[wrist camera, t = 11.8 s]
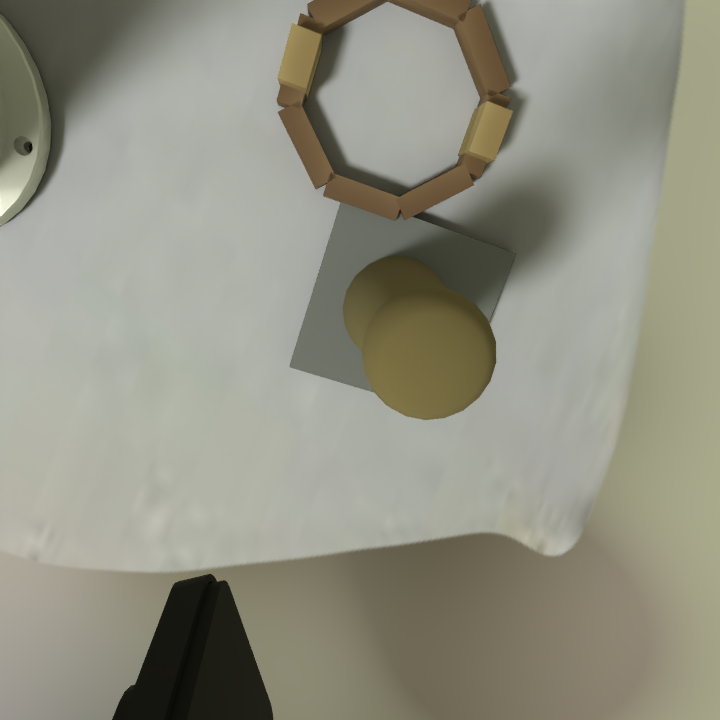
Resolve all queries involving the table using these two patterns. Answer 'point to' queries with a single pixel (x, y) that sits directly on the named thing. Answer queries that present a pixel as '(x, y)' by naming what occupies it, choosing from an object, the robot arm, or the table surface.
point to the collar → (485, 131)
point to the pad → (371, 243)
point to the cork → (418, 338)
